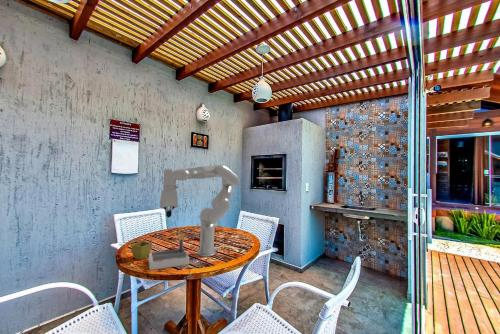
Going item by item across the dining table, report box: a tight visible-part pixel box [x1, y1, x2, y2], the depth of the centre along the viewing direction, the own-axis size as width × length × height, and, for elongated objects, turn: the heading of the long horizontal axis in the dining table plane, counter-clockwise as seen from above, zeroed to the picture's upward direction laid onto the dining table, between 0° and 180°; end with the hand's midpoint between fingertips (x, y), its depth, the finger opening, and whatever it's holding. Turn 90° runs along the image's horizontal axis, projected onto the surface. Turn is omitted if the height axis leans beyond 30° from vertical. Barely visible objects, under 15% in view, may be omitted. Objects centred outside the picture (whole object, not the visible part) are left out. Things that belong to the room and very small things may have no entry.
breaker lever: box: [176, 233, 185, 253], centre depth 139 cm, size 4×6×12 cm, turn 28°
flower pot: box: [130, 241, 153, 261], centre depth 142 cm, size 9×9×9 cm
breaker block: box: [147, 248, 190, 271], centre depth 135 cm, size 22×14×6 cm, turn 118°
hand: (168, 217), depth 140 cm, fingers closed
